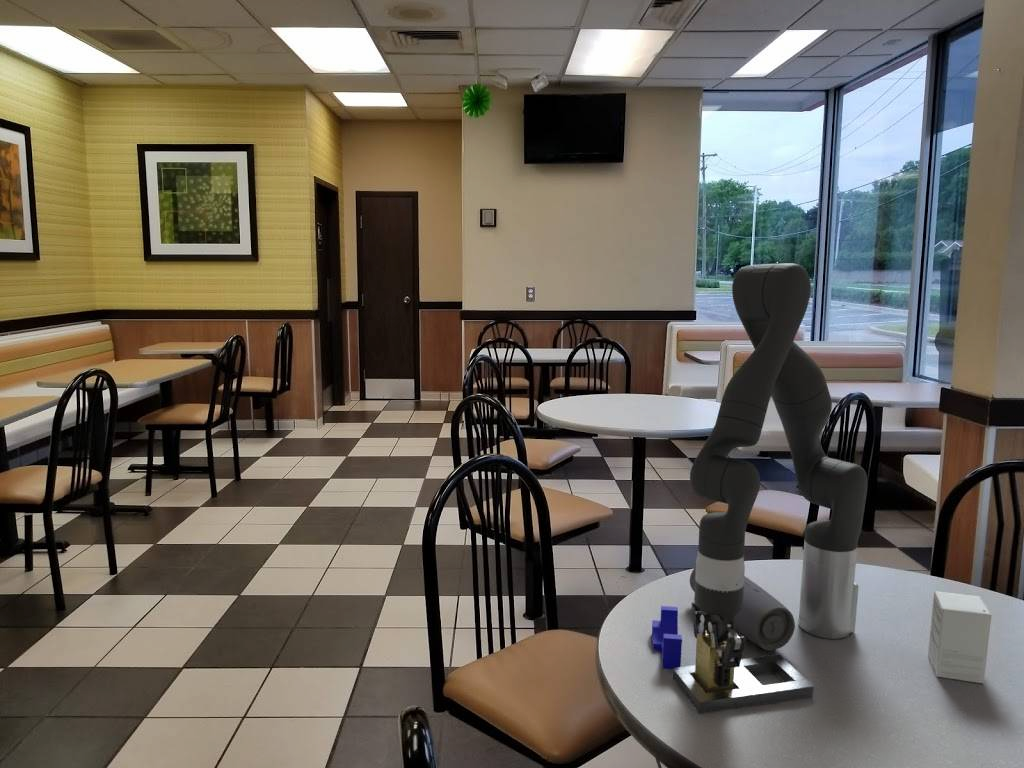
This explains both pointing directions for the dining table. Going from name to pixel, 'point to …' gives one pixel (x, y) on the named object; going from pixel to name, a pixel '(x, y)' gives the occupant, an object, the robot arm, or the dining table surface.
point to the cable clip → (667, 637)
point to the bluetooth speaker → (761, 617)
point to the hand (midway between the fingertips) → (714, 676)
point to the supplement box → (959, 636)
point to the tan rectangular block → (708, 665)
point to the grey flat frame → (746, 685)
